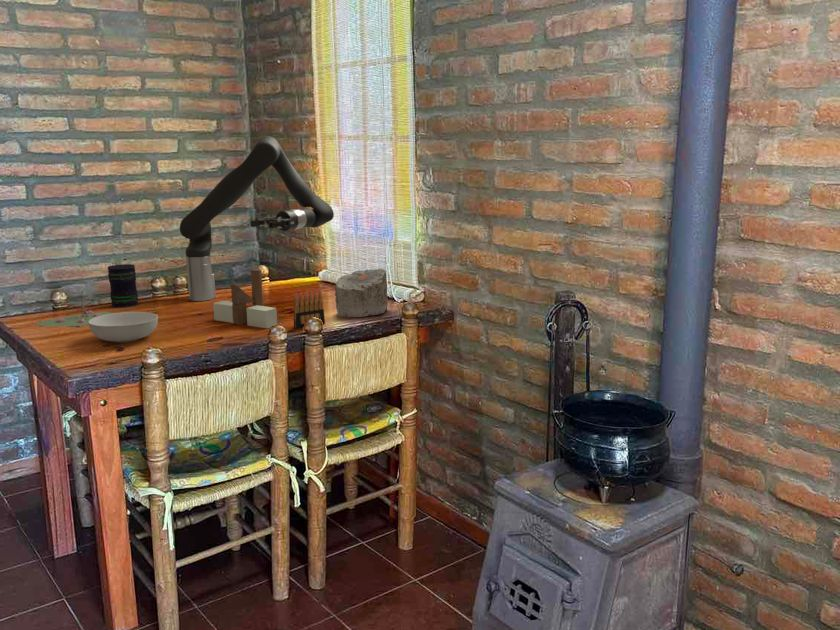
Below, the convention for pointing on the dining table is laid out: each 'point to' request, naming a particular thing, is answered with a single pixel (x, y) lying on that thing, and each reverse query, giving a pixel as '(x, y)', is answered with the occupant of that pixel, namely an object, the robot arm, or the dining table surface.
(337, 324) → the dining table surface
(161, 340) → the dining table surface
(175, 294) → the dining table surface
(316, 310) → the ammunition clip
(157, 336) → the dining table surface
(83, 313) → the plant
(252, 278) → the wooden angular bracket
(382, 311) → the petrified wood
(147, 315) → the serving bowl
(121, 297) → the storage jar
